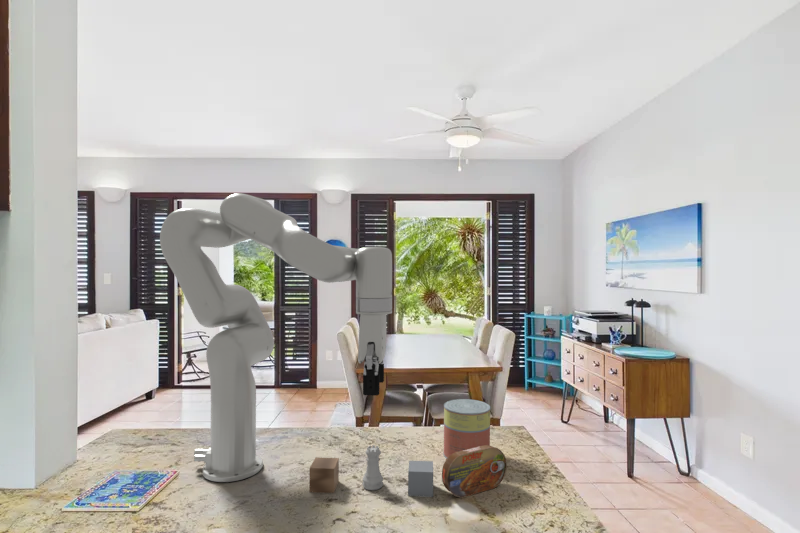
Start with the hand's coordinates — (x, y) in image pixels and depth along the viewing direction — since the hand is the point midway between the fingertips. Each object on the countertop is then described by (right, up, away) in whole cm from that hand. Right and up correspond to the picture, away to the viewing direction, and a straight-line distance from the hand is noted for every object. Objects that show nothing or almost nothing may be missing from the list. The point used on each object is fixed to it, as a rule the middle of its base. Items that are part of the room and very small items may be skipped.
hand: (374, 388), depth 93 cm
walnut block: (-10, -20, 0) cm, 23 cm away
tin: (+21, -21, -1) cm, 29 cm away
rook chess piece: (0, -21, 0) cm, 21 cm away
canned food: (+22, -21, +16) cm, 34 cm away
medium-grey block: (+10, -21, -2) cm, 23 cm away
